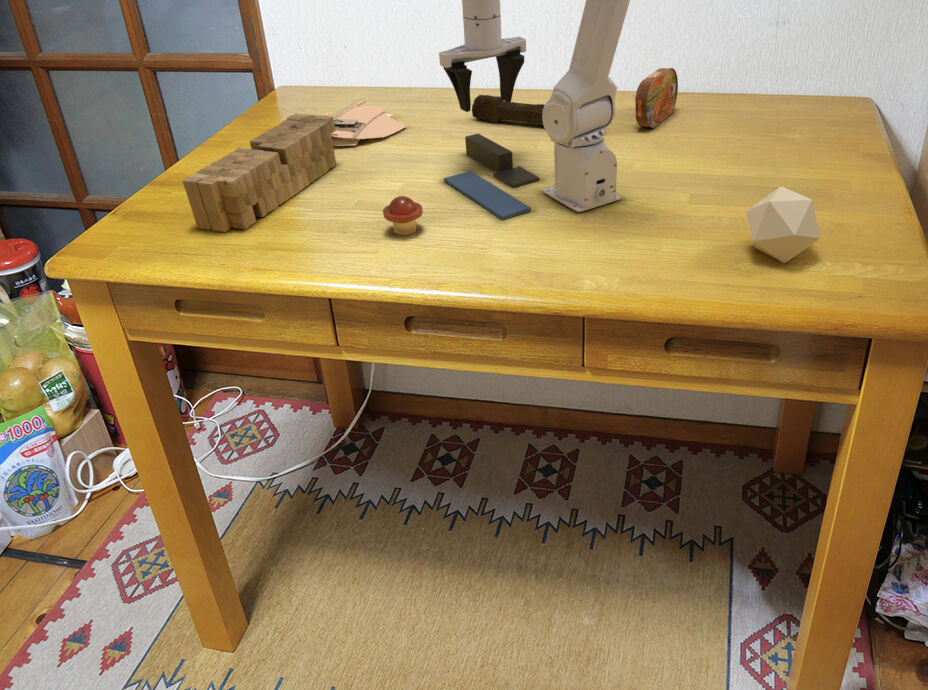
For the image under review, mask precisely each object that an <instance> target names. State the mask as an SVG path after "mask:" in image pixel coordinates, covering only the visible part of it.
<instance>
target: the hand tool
mask: <svg viewBox="0 0 928 690" xmlns="http://www.w3.org/2000/svg"><path fill="white" fill-rule="evenodd" d="M544 106H545V104H544V103H543V104H542V103H537V104H534V103H525V102H524V103H523V102H516V101H511V102H506V101H504V100H502V99H501V96H495V95H489V94H478V96H476V97H475V98H474V99H473V103H472V104H471V113H472V117H473V118H475V119H477V120H481V121H486V122H491V123H493V124H494V123H495V124H496V123H501V122H502V121H509V122H510V121H511V122H517V123H518V122H521V123H528V124H536V125H543V120H542V113H543V108H544Z"/></svg>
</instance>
